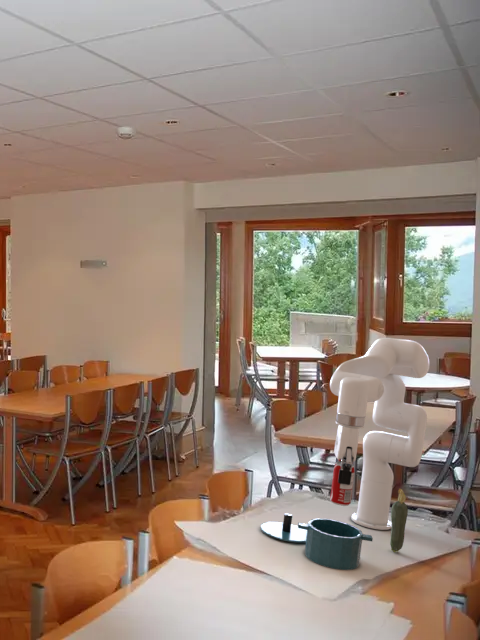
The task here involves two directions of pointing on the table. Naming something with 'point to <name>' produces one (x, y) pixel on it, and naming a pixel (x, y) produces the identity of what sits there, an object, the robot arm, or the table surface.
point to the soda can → (341, 488)
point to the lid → (284, 530)
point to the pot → (333, 543)
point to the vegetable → (398, 522)
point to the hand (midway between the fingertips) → (342, 480)
